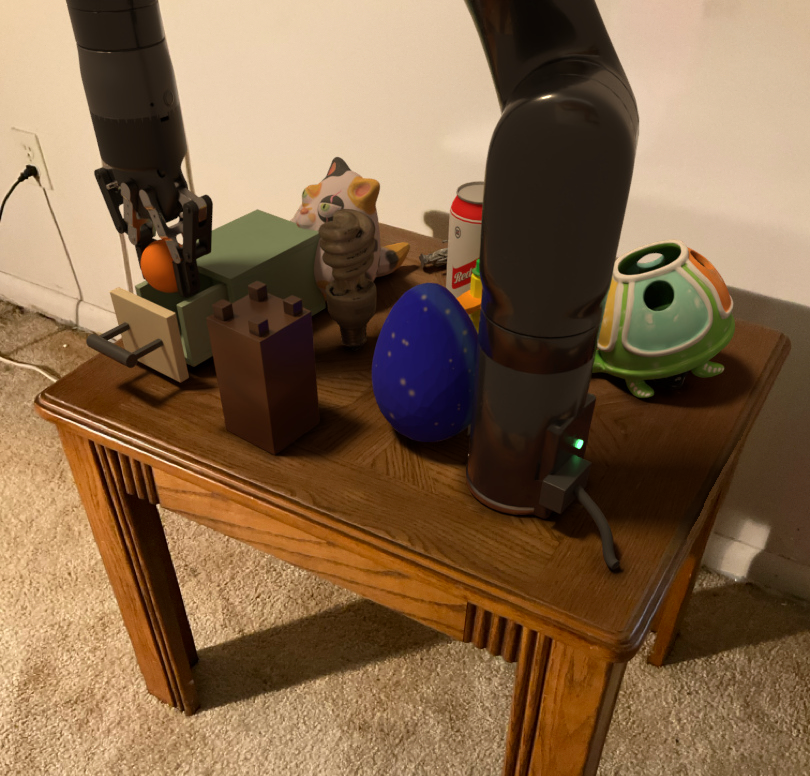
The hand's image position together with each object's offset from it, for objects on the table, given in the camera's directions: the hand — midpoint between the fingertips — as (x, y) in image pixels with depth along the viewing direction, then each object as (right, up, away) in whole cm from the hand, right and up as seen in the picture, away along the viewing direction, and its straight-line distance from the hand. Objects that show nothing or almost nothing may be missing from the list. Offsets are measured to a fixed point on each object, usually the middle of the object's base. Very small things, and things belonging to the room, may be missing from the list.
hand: (172, 285), depth 82 cm
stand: (+11, -14, -2) cm, 18 cm away
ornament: (+25, -15, -3) cm, 29 cm away
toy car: (+51, -8, +5) cm, 52 cm away
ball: (0, +1, -1) cm, 2 cm away
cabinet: (+6, 0, +12) cm, 13 cm away
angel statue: (+29, +13, +22) cm, 38 cm away
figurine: (+17, +6, +18) cm, 25 cm away
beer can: (+31, -3, +10) cm, 32 cm away
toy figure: (+30, -8, +5) cm, 31 cm away
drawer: (0, -6, +5) cm, 7 cm away
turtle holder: (+50, -7, +4) cm, 50 cm away
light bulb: (+17, -5, +8) cm, 20 cm away
